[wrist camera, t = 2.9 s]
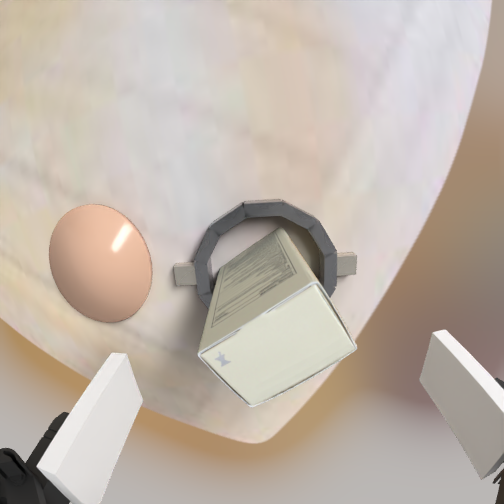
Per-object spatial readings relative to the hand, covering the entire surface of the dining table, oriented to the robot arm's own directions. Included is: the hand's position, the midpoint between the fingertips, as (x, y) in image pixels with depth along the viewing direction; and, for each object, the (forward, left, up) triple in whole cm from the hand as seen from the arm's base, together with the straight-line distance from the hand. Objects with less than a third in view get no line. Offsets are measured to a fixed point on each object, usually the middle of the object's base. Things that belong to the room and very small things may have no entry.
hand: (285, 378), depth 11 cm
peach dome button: (-15, +1, -13) cm, 20 cm away
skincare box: (0, 0, -14) cm, 14 cm away
